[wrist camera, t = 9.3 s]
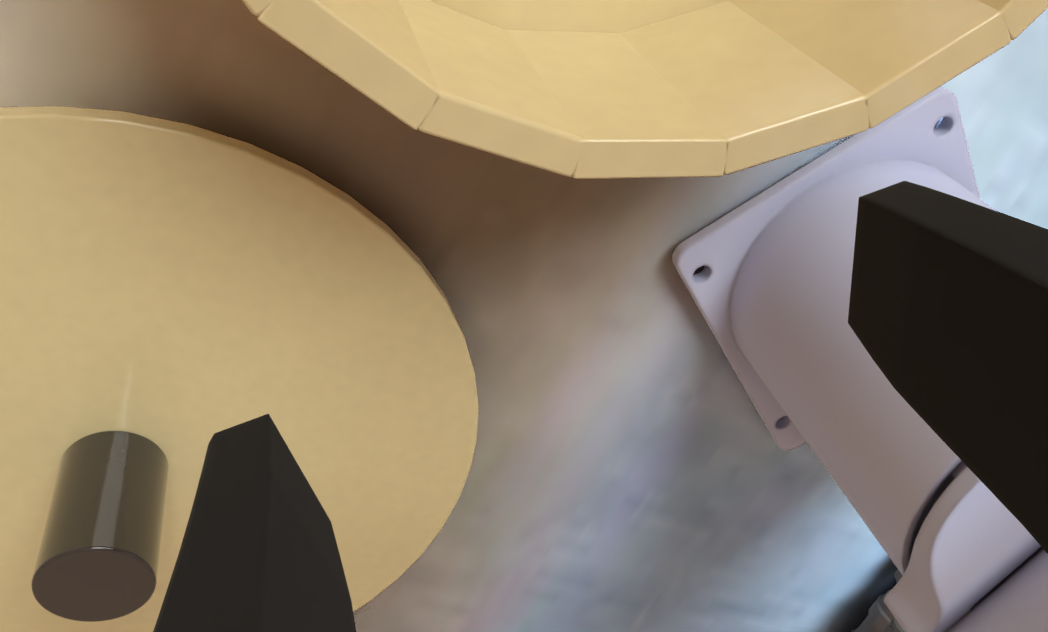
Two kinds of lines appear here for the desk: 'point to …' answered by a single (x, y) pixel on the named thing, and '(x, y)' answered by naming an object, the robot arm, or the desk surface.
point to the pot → (645, 72)
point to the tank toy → (880, 616)
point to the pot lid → (203, 360)
